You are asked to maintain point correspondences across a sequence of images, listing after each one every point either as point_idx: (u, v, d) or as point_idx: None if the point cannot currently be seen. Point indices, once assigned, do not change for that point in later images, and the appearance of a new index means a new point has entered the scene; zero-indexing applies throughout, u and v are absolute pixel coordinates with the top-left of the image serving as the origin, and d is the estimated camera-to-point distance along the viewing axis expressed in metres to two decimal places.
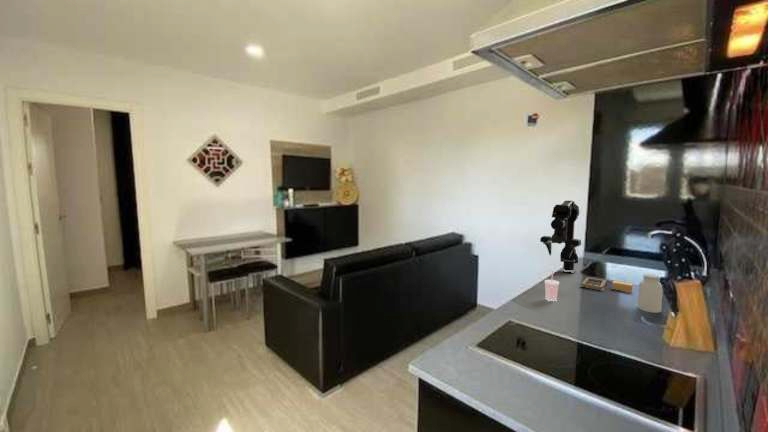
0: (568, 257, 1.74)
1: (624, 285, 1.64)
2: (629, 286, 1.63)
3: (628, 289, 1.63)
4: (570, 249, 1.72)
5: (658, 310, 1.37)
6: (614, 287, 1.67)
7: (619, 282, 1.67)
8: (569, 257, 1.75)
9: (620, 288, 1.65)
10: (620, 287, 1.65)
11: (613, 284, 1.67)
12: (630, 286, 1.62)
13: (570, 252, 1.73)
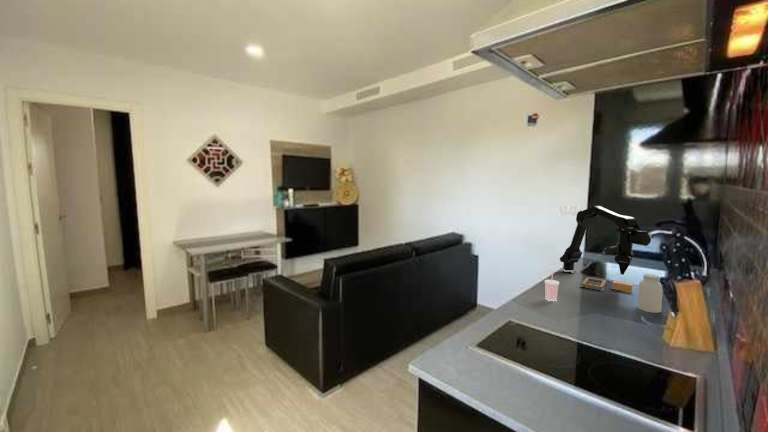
0: None
1: (624, 285, 1.64)
2: (629, 286, 1.63)
3: (628, 289, 1.63)
4: (619, 264, 1.62)
5: (658, 310, 1.37)
6: (614, 287, 1.67)
7: (619, 282, 1.67)
8: (622, 274, 1.62)
9: (620, 288, 1.65)
10: (620, 287, 1.65)
11: (613, 284, 1.67)
12: (630, 286, 1.62)
13: None
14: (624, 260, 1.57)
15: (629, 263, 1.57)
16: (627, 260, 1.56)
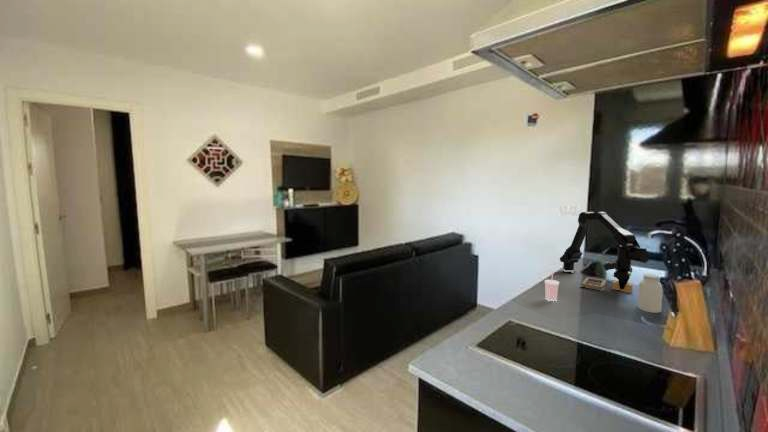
0: (620, 288, 1.65)
1: None
2: (629, 286, 1.63)
3: (628, 289, 1.63)
4: (618, 279, 1.64)
5: (658, 310, 1.37)
6: (614, 287, 1.67)
7: None
8: (622, 289, 1.64)
9: None
10: None
11: (613, 284, 1.67)
12: (630, 286, 1.62)
13: (619, 283, 1.64)
14: (623, 277, 1.58)
15: (628, 278, 1.60)
16: (626, 277, 1.57)
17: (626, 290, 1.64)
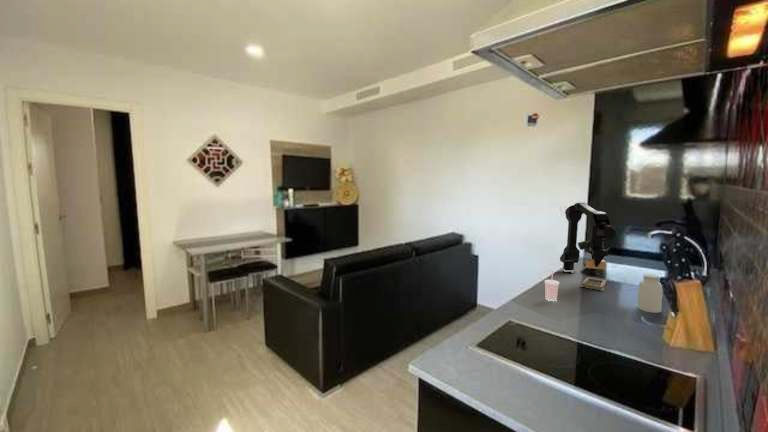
0: (595, 266, 1.71)
1: None
2: (603, 262, 1.69)
3: (602, 266, 1.69)
4: (594, 257, 1.70)
5: (658, 310, 1.37)
6: (589, 265, 1.72)
7: (593, 259, 1.73)
8: (596, 266, 1.70)
9: None
10: None
11: (588, 262, 1.72)
12: (604, 262, 1.69)
13: (594, 260, 1.70)
14: (602, 254, 1.63)
15: (605, 255, 1.66)
16: (605, 254, 1.62)
17: (600, 267, 1.70)
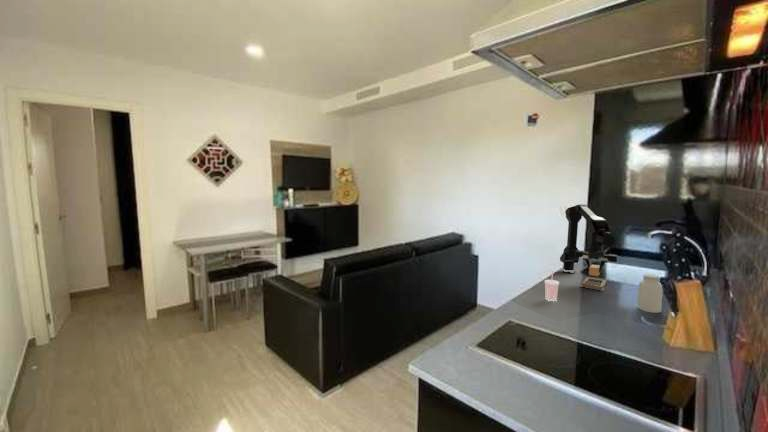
0: (599, 272, 1.71)
1: (599, 267, 1.72)
2: None
3: None
4: (601, 264, 1.69)
5: (658, 310, 1.37)
6: (598, 273, 1.69)
7: (594, 266, 1.72)
8: None
9: None
10: None
11: (598, 270, 1.69)
12: None
13: (601, 267, 1.70)
14: (617, 259, 1.67)
15: None
16: (617, 258, 1.67)
17: None
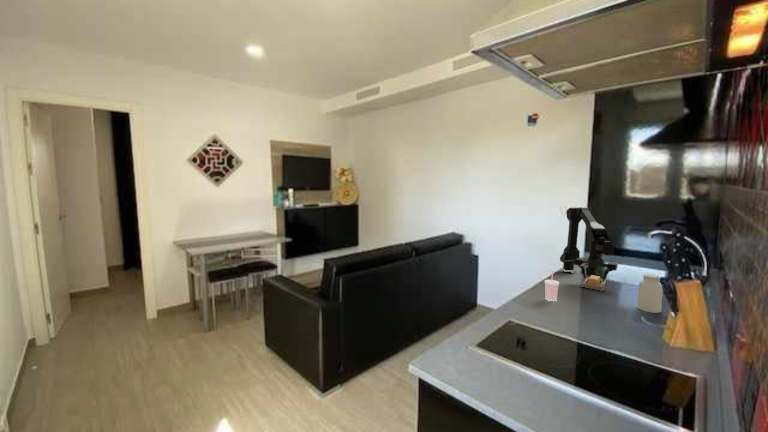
0: (603, 281, 1.70)
1: (599, 278, 1.73)
2: (599, 277, 1.74)
3: (599, 281, 1.74)
4: (605, 273, 1.68)
5: (658, 310, 1.37)
6: (597, 284, 1.70)
7: (593, 277, 1.72)
8: None
9: (598, 282, 1.72)
10: (598, 281, 1.72)
11: (597, 281, 1.69)
12: (599, 277, 1.74)
13: (605, 276, 1.69)
14: None
15: None
16: None
17: (599, 282, 1.73)
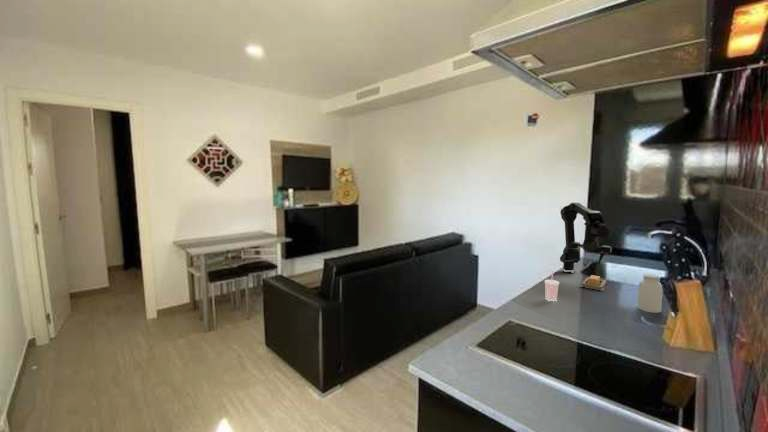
0: None
1: (599, 278, 1.73)
2: (599, 277, 1.74)
3: (599, 281, 1.74)
4: (601, 256, 1.74)
5: (658, 310, 1.37)
6: (597, 284, 1.70)
7: (593, 277, 1.72)
8: (599, 263, 1.76)
9: (598, 282, 1.72)
10: (598, 281, 1.72)
11: (597, 281, 1.69)
12: (599, 277, 1.74)
13: (601, 259, 1.74)
14: (611, 250, 1.72)
15: None
16: (611, 249, 1.73)
17: (599, 282, 1.73)
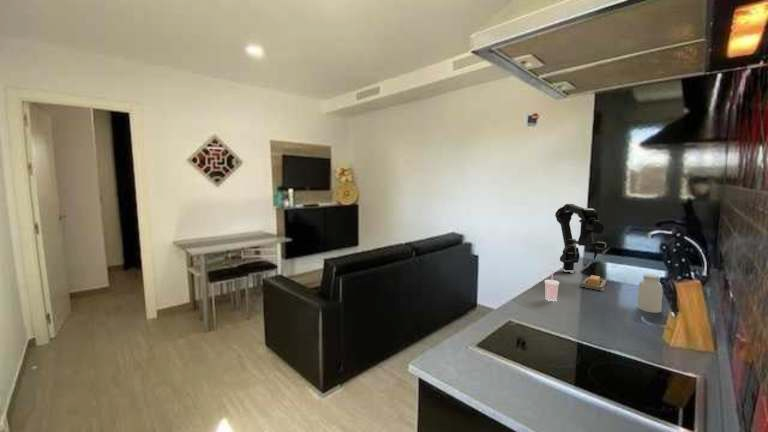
0: (594, 259, 1.81)
1: (599, 278, 1.73)
2: (599, 277, 1.74)
3: (599, 281, 1.74)
4: (596, 251, 1.79)
5: (658, 310, 1.37)
6: (597, 284, 1.70)
7: (593, 277, 1.72)
8: (594, 259, 1.81)
9: (598, 282, 1.72)
10: (598, 281, 1.72)
11: (597, 281, 1.69)
12: (599, 277, 1.74)
13: (596, 254, 1.79)
14: (605, 246, 1.78)
15: None
16: None
17: (599, 282, 1.73)
